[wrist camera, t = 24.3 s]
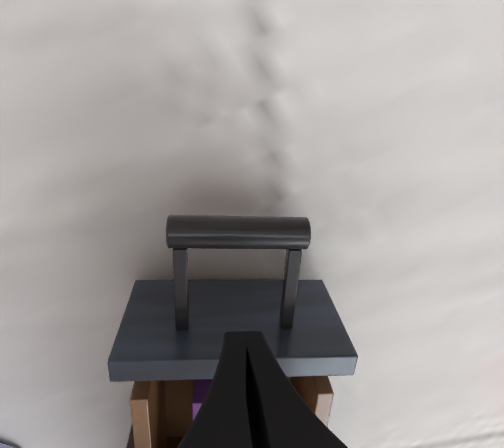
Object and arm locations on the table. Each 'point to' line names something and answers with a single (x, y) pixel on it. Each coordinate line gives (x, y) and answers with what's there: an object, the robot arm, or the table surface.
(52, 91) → the table surface
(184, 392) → the drawer
